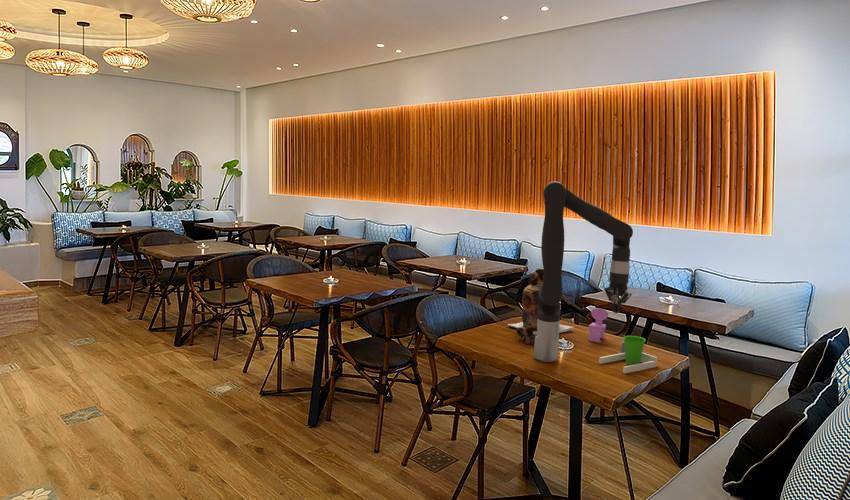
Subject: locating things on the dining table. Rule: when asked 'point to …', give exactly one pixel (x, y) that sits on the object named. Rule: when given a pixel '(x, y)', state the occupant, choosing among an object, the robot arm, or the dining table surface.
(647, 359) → the bay
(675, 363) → the dining table surface
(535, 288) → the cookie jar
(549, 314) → the robot arm
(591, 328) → the toy chair
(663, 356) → the dining table surface
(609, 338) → the dining table surface
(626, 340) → the cup
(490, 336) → the dining table surface
